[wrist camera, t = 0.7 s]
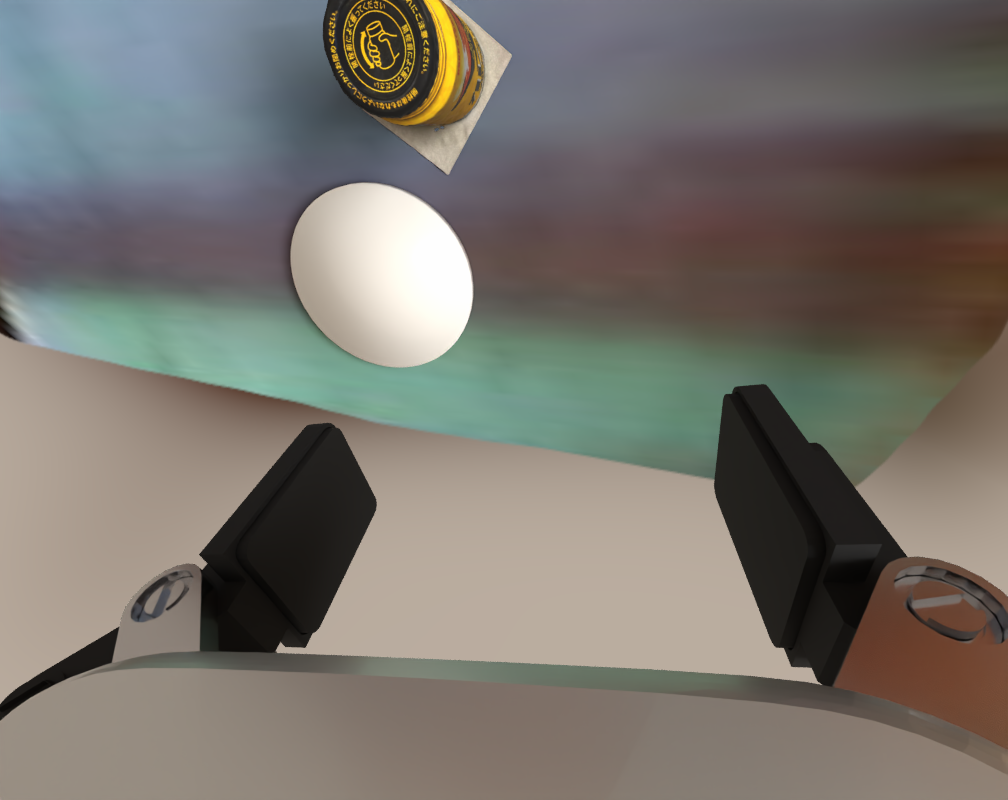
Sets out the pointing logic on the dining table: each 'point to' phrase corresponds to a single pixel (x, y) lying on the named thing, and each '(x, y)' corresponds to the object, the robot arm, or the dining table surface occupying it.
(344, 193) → the plate
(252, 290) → the dining table surface
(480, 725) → the robot arm
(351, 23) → the condiment
